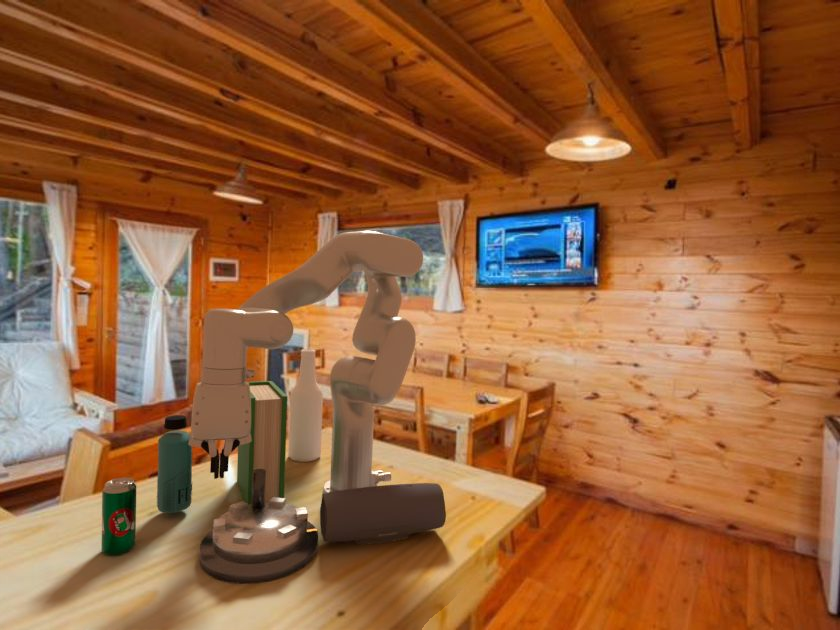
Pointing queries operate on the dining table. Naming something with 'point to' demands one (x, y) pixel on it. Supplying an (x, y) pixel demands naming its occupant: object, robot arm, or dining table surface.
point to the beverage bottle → (174, 467)
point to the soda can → (118, 516)
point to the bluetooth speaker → (381, 512)
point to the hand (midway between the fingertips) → (218, 475)
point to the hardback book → (264, 441)
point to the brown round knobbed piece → (259, 527)
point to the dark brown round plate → (257, 571)
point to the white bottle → (306, 412)
